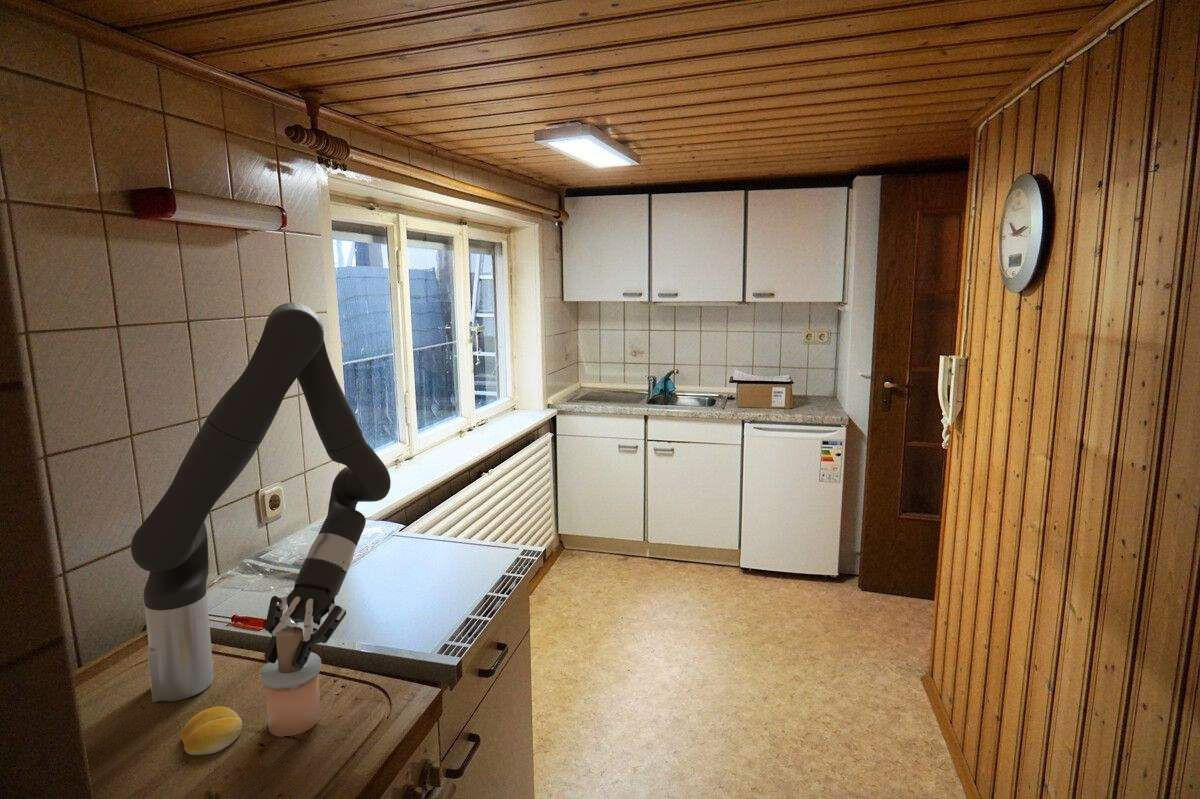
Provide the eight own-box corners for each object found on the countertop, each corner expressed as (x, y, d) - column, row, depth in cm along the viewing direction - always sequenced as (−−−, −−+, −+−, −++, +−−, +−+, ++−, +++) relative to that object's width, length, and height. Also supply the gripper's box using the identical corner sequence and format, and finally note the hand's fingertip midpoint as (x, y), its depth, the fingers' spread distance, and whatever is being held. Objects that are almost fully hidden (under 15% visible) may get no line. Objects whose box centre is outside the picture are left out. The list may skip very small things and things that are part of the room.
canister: (270, 743, 102) (267, 693, 100) (266, 714, 109) (262, 667, 107) (324, 726, 106) (321, 678, 105) (316, 700, 113) (314, 654, 111)
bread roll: (188, 766, 97) (186, 742, 96) (179, 734, 104) (177, 712, 103) (248, 742, 102) (247, 719, 102) (236, 713, 109) (234, 692, 108)
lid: (264, 700, 100) (261, 654, 99) (259, 671, 107) (256, 627, 106) (325, 683, 105) (323, 638, 103) (317, 656, 112) (315, 614, 111)
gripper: (280, 551, 112) (231, 651, 102) (352, 561, 109) (309, 665, 99) (302, 567, 118) (258, 663, 108) (371, 577, 115) (332, 677, 105)
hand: (282, 664), depth 104 cm, fingers open, 4 cm apart
